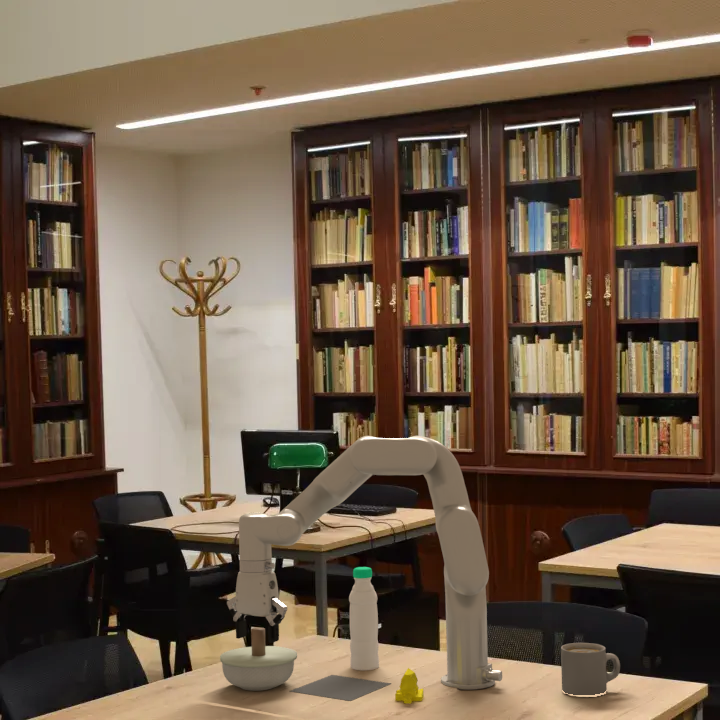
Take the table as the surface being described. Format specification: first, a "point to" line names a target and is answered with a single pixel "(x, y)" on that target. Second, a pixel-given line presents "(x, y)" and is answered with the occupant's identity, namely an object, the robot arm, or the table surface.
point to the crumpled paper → (409, 688)
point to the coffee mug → (586, 668)
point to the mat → (340, 687)
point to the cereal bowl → (258, 676)
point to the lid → (258, 653)
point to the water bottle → (363, 621)
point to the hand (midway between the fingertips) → (257, 639)
